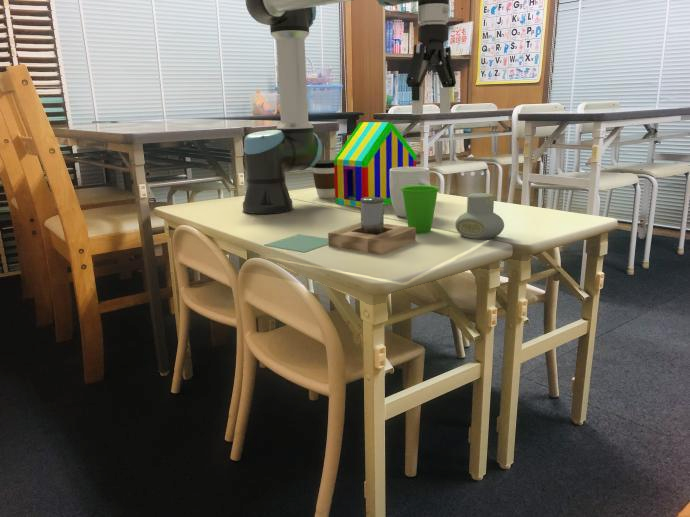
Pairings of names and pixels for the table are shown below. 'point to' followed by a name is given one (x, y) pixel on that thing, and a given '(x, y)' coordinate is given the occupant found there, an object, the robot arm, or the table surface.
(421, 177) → the mug
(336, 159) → the toy house
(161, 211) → the table surface
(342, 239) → the socket block
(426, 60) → the robot arm
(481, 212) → the air freshener
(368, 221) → the gray metal can
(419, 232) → the cup
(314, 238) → the mat
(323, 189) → the coffee cup
